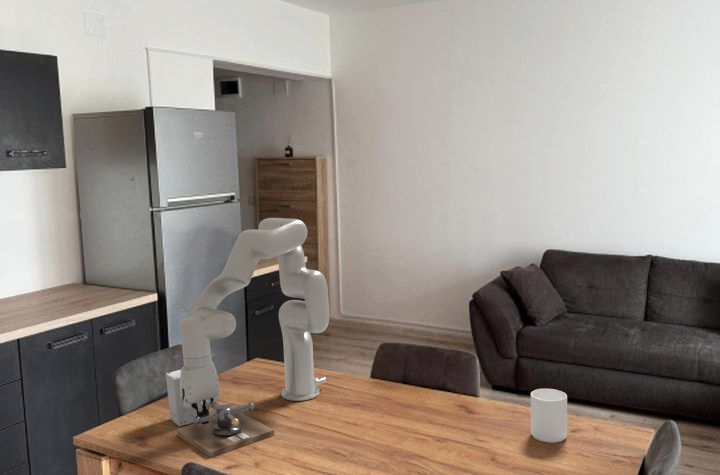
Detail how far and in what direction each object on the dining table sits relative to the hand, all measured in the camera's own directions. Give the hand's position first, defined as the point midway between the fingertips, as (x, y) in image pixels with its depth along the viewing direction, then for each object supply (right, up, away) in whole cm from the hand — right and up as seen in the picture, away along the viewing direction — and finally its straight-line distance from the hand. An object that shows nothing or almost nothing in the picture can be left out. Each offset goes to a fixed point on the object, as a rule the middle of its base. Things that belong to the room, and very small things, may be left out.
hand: (203, 422), depth 187 cm
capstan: (+6, -3, +1) cm, 6 cm away
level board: (+6, -4, +1) cm, 7 cm away
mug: (+96, -2, -6) cm, 96 cm away
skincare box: (-9, -3, +13) cm, 17 cm away
